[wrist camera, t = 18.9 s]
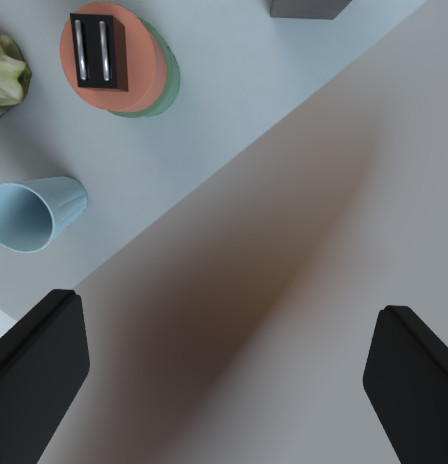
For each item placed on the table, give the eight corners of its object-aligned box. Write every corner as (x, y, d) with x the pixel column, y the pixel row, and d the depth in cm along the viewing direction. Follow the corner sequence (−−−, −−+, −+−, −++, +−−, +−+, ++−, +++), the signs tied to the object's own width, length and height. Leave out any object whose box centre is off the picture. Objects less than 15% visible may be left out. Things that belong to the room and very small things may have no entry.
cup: (105, 187, 41) (65, 208, 31) (83, 233, 43) (39, 265, 34) (52, 156, 40) (-7, 168, 30) (32, 205, 42) (-29, 230, 32)
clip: (125, 25, 25) (110, 12, 22) (128, 92, 27) (115, 88, 24) (86, 24, 25) (66, 10, 22) (92, 90, 27) (74, 86, 24)
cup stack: (181, 33, 35) (160, -4, 25) (181, 119, 38) (163, 119, 28) (101, 30, 35) (45, -8, 25) (108, 116, 38) (61, 114, 28)
